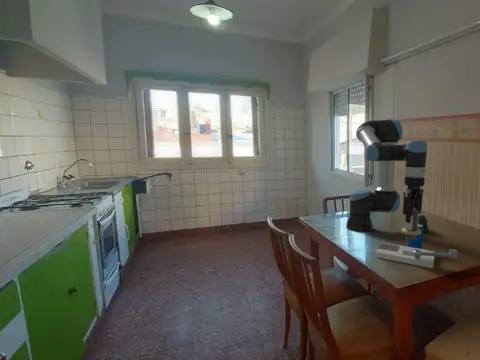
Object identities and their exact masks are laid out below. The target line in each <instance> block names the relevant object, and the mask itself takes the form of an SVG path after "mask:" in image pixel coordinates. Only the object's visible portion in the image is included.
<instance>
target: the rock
mask: <svg viewBox="0 0 480 360" xmlns="http://www.w3.org/2000/svg"><path fill="white" fill-rule="evenodd" d="M418 224H421V225H423V228H424V231H423V233H427V232H428V231H429V230H430V229H429V226H428V225H429V224H428V220H427V218H426V216H425V214H420V215H418Z"/></svg>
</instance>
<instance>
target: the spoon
mask: <svg viewBox="0 0 480 360" xmlns="http://www.w3.org/2000/svg"><path fill="white" fill-rule="evenodd" d="M413 255H415V256H422V255H424V256H434V257H439V258H440V257H441V258H451V259H452V258H453V259H457V258H458V250H457V249H453V248H452V249H448V253H444V252H435V253H432V252H422V251H420V250H413Z"/></svg>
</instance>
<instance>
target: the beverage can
mask: <svg viewBox="0 0 480 360" xmlns="http://www.w3.org/2000/svg"><path fill="white" fill-rule="evenodd" d="M417 229H420V230H421V234H420V235H417V237H416V240H409V239H406V240H407V242H406V247H412V248H418V249H423V246H424V245H423V243H424V232H423V231H424V228H423V225H421V224H418V228H417Z"/></svg>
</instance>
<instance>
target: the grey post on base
mask: <svg viewBox="0 0 480 360" xmlns="http://www.w3.org/2000/svg"><path fill="white" fill-rule="evenodd" d="M418 214H419V213H418V210H417V209H416V208H413V211H412V216H413V223H412V230H408V229H405V226H404V227H401V233H403V234H404V238H405V239H406V240H407V239H409V240H416V237H417V235H420V234H421V230H420V229H417V223H418V216H419V215H418Z"/></svg>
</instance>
